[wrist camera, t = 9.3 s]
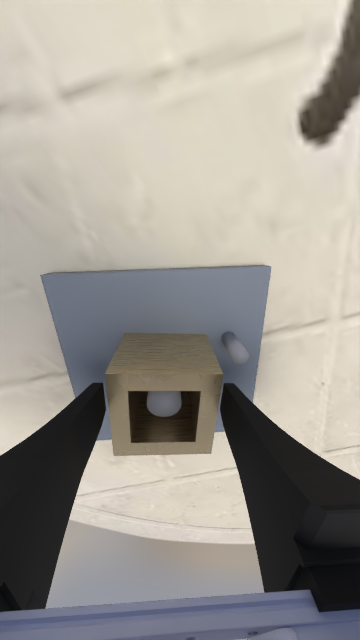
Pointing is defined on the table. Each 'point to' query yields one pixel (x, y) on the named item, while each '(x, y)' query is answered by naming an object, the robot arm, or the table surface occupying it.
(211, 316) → the post plate
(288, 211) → the table surface
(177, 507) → the table surface
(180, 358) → the wooden collar
